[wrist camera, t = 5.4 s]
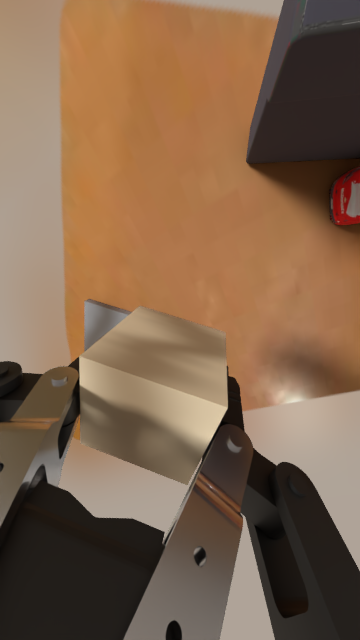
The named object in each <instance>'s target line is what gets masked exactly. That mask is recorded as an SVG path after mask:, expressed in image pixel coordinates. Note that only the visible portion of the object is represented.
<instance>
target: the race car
mask: <svg viewBox="0 0 360 640" xmlns="http://www.w3.org/2000/svg"><path fill="white" fill-rule="evenodd" d="M330 191H331V192H330ZM329 192H330V193H329V194H331V195H330V201H329V203H330V214H331V215H330V217H332V218H330V220H331V219H332V220H333V221H332V222H333V223H334V224H337V225H350V224H357V223H360V166H358V167H356V168H354V169H352V170H350V171H348V172H346V173H344V174H343V175H341V176H340V177H339V178H338V179H337V180H336V181H335V182H334V183H333V185H332V189H330V190H329Z"/></svg>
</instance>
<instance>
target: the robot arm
mask: <svg viewBox="0 0 360 640" xmlns="http://www.w3.org/2000/svg"><path fill="white" fill-rule="evenodd" d="M227 395H228V408H227V410H226V412H225V414H224V416H223V418H222V420H221V422H220V424H219V426H218V428H217V429H216V431H215V433H214V435H213V437H212V439H211V441H210V443H209V445H208V447H207V448H206V450H205V452H204V454H203V456H202V462H201V464H200V466H199V468H198V470H197V472H196V474H195V477H194V479H193V481H192V483H191V485H190V487H189V489H188V491H187V493H186V495H185V497H184V500H183V502H182V504H181V506H180V508H179V510H178V512H177V514H176V516H175V518H174V520H173V522H172V524H171V526H170V528H169V530H168V532H167V534H166V536H165V538H164V540H163V537H164V532H163V531H161V530H158V529H156V528H154V527H151V526H149V525H147V524H144V523H142V522H139V521H137V520H134V519H126V518H96V517H94V516H93V515H92V514H91V513H90V512H89V511H87V510H86V508H85V507H84V506H83V505H82V504H81V503H80V502H79V501H78V500H76V498H75V497H74V496H73V495H72V494H71V493H69V492H68V491H66V490H63V489H61V488H58V485H59V481H60V476H61V470H62V466H63V462H64V459H65V457H66V454H67V451H68V448H69V445H70V443H71V440H72V437H73V434H74V432H75V429H76V426H77V423H78V421H79V415H80V372H79V357H78V358H77V359H76V360H75V361H73V362H72V363H71V364H70V365H69V366H63V367H56V368H53V369H50V370H48V371H47V372H45V373H44V374H32V373H22V368H21V366H20V365H19V364H18V363H15V362H10V361H4V362H0V640H219V639H220V634H221V629H222V624H223V620H224V615H225V610H226V605H227V601H228V596H229V591H230V586H231V581H232V577H233V572H234V567H235V561H236V557H237V552H238V548H239V543H240V538H241V533H242V527H243V517H242V515H241V514H240V512H241V513H242V514H243V515H244V516H245V517H246V521H247V525H248V529H249V533H250V537H251V542H252V546H253V550H254V554H255V558H256V562H257V566H258V571H259V574H260V579H261V583H262V587H263V591H264V595H265V600H266V604H267V608H268V612H269V616H270V620H271V625H272V629H273V633H274V637H275V640H360V571H359V569H358V567H357V565H356V563H355V561H354V560H353V558H352V556H351V554H350V552H349V550H348V548H347V546H346V544H345V543H344V541H343V539H342V537H341V535H340V533H339V531H338V529H337V528H336V526H335V524H334V522H333V520H332V518H331V516H330V515H329V513H328V511H327V509H326V507H325V505H324V503H323V501H322V499H321V498H320V496H319V494H318V492H317V490H316V488H315V486H314V485H313V483H312V482H311V480H310V479H309V478H308V476H307V475H306V474H305V473H304V472H303V471H302V470H300V469H299V468H298V467H297V466H295V465H293V464H291V463H288V462H282V463H280V464H278V465H277V466H276V465H275V464H273V463H272V462H270V461H269V460H268V459H266V458H265V457H263V456H262V455H261V454H259V453H258V452H257V451H256V450H255V449H254V448H253V445H252V442H251V440H250V438H249V437H248V435H247V434H246V433H245V431H244V424H243V414H242V405H241V396H240V387H239V385H238V383H237V381H236V379H235V378H233V377H230V376H228V366H227ZM162 542H163V543H162Z"/></svg>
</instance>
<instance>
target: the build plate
mask: <svg viewBox="0 0 360 640" xmlns="http://www.w3.org/2000/svg"><path fill="white" fill-rule="evenodd" d="M131 313H132V312H129V311H126V310H123V309H120V308H117V307H113V306H110V305H107V304H104V303H101V302H97V301H94V300H91V299H88V300H86V301H85V351H86V350H87V349H89V348H90V347H91V346H92V345H93V344H95V343H96V342H97V341H98V340H99V339H101V338H102V337H103V336H104V335H105V334H107V333H108V332H109V331H110V330H111V329H113V328H114V327H115V326H116V325H117V324H119V323H120V322H121V321H122V320H123V319H125V318H126V317H127V316H128V315H129V314H131Z"/></svg>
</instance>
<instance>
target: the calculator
mask: <svg viewBox="0 0 360 640" xmlns="http://www.w3.org/2000/svg"><path fill="white" fill-rule="evenodd" d="M352 158H360V0H284V2H283V6H282V10H281V13H280V17H279V21H278V25H277V29H276V32H275V36H274V40H273V44H272V48H271V51H270V55H269V59H268V63H267V66H266V70H265V74H264V78H263V82H262V85H261V89H260V93H259V97H258V101H257V104H256V108H255V112H254V116H253V119H252V123H251V127H250V135H249V143H248V150H247V158H246V162H247V163H249V164H252V163H272V162H292V161H312V160H332V159H352Z"/></svg>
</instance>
